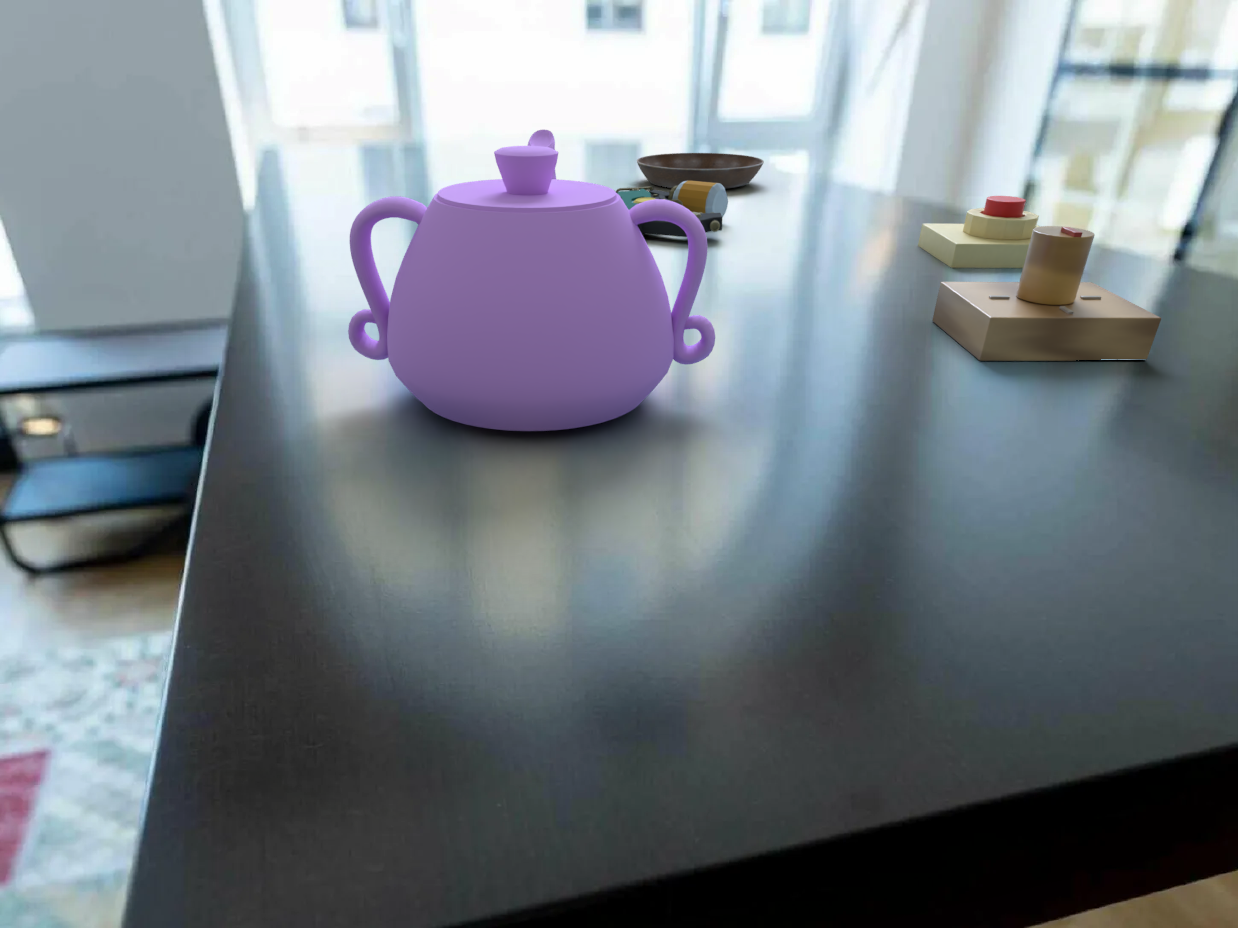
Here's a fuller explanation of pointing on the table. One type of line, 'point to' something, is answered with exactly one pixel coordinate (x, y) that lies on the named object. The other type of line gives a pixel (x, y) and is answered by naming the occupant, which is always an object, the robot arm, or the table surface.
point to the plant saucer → (699, 168)
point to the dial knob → (1054, 265)
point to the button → (1004, 206)
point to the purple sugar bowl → (529, 298)
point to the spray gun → (693, 195)
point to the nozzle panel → (1043, 324)
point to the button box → (980, 240)
